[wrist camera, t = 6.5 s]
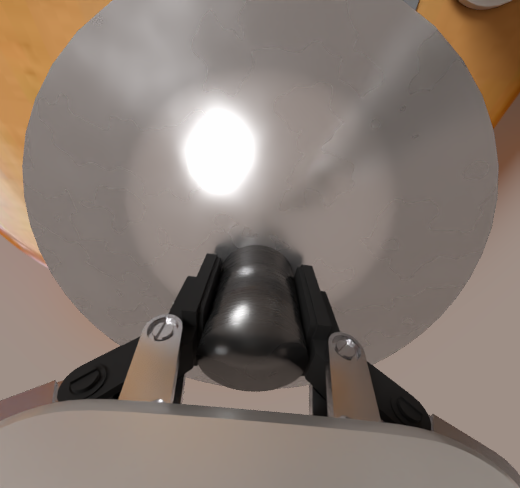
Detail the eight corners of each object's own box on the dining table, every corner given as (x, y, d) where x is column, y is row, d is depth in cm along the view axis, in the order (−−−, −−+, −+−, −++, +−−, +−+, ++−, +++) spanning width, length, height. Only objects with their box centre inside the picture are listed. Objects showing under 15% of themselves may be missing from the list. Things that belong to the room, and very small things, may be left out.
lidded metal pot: (468, 73, 14) (1406, -160, 2) (347, 326, 25) (412, 487, 14) (84, 9, 13) (-1378, -915, 1) (141, 304, 24) (35, 459, 13)
